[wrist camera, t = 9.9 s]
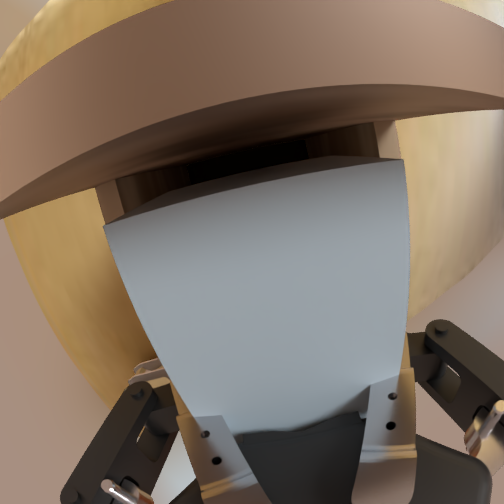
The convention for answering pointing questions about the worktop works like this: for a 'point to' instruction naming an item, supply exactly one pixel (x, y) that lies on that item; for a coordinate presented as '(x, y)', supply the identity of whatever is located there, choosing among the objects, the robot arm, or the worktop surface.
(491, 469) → the robot arm
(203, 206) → the blue-grey block
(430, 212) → the worktop surface
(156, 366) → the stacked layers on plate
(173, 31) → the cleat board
